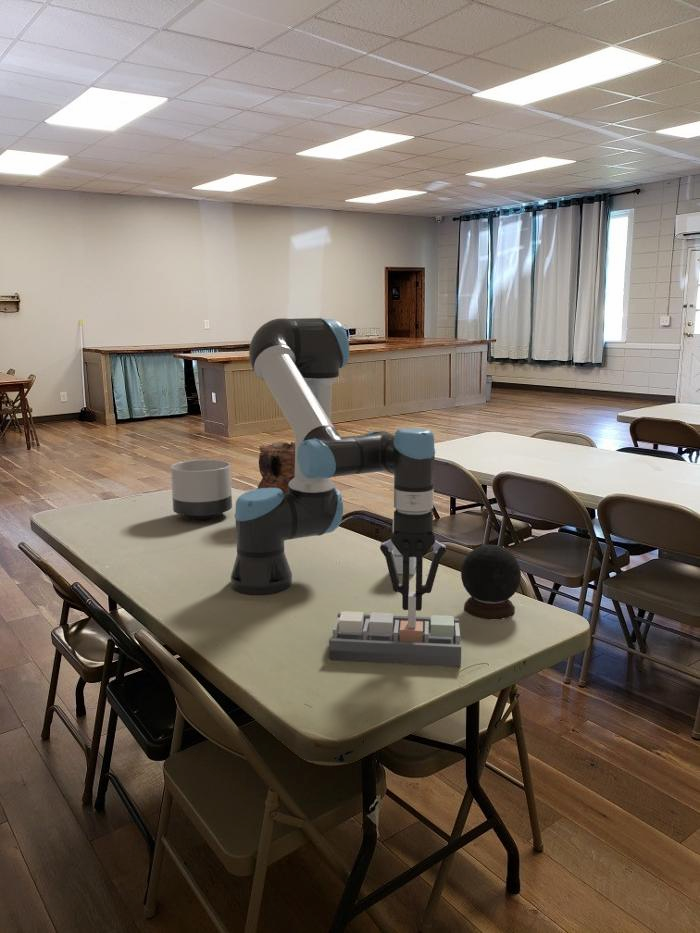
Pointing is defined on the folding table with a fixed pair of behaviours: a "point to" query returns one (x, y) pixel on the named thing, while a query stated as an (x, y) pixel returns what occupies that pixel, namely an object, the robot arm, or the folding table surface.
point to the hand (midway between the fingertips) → (411, 624)
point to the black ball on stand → (490, 581)
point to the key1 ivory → (351, 622)
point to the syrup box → (399, 561)
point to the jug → (277, 465)
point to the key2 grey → (381, 623)
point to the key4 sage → (442, 626)
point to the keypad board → (395, 645)
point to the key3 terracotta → (411, 632)
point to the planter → (201, 488)
